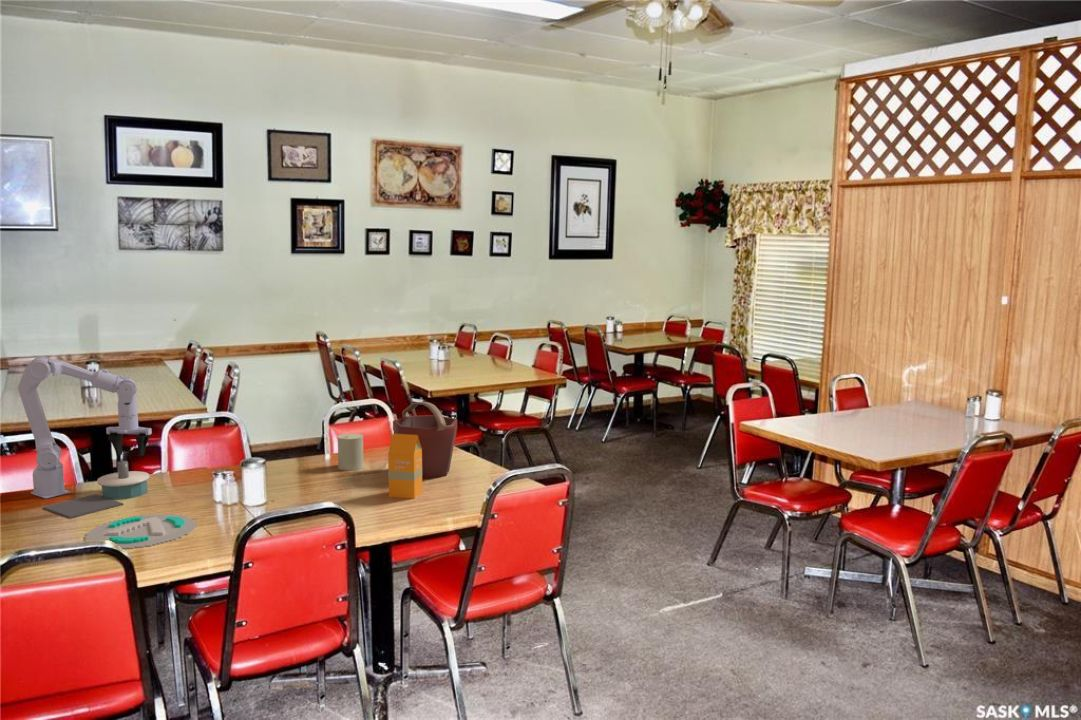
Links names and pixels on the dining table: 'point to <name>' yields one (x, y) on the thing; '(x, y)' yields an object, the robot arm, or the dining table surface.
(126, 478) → the lid
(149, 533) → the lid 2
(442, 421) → the bucket
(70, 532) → the dining table surface
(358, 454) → the can
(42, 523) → the dining table surface
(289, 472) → the dining table surface
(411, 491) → the orange juice
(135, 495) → the bowl
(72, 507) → the mat
